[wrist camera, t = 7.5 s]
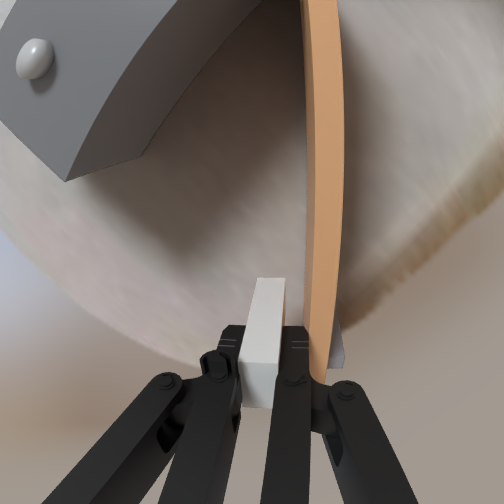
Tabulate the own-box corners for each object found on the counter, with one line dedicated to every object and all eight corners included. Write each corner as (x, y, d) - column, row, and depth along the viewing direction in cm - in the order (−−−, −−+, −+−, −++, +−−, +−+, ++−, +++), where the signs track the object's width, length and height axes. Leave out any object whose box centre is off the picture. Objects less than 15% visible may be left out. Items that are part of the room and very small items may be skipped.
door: (294, -34, 13) (291, -106, 6) (328, -33, 13) (343, -103, 5) (301, 311, 22) (301, 395, 15) (330, 311, 22) (341, 395, 15)
